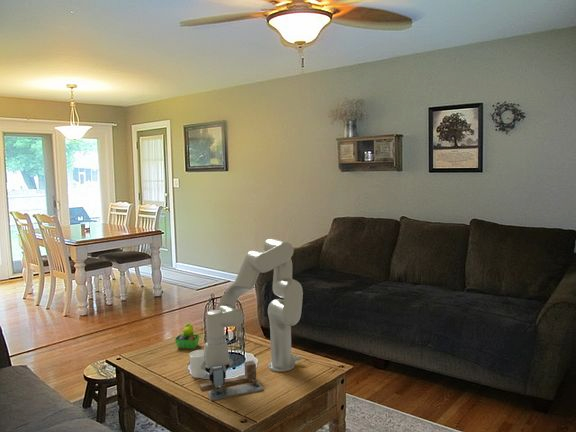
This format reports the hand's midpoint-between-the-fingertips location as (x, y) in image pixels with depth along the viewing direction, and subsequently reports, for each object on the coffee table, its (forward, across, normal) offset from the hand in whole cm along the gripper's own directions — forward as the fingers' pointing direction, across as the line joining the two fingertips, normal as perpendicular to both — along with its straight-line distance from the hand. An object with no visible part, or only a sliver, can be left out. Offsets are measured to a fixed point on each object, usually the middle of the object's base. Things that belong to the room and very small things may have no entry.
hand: (217, 380), depth 203 cm
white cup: (+2, +5, -14) cm, 15 cm away
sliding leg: (+2, 0, +1) cm, 2 cm away
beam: (+2, -5, +1) cm, 5 cm away
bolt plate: (+2, -6, +8) cm, 10 cm away
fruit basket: (+3, +4, -50) cm, 50 cm away
